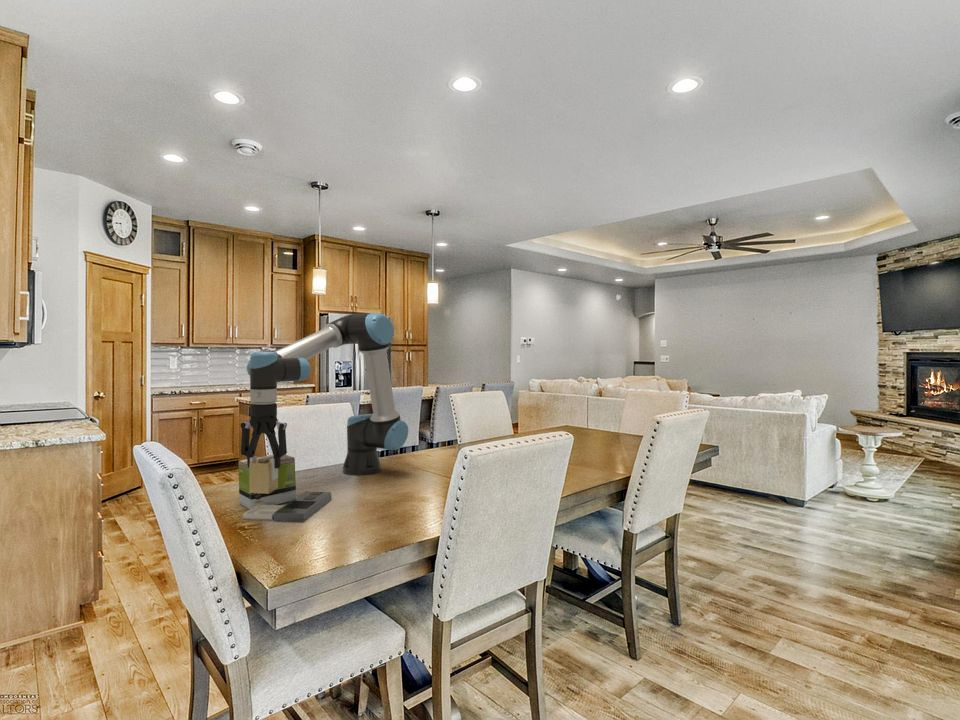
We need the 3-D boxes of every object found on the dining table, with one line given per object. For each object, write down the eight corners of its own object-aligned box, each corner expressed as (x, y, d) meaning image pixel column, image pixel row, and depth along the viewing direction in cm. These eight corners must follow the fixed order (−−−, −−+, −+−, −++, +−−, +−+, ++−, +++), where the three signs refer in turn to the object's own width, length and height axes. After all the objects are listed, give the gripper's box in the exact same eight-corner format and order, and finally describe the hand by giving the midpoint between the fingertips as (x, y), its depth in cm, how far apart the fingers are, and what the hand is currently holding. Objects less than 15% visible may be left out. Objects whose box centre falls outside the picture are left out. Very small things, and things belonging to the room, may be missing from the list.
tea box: (283, 494, 180) (283, 452, 180) (296, 501, 173) (296, 457, 172) (238, 504, 170) (237, 459, 169) (250, 511, 162) (249, 464, 162)
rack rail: (305, 498, 175) (305, 491, 175) (331, 499, 175) (331, 491, 175) (274, 521, 154) (274, 512, 153) (303, 522, 153) (303, 513, 153)
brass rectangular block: (259, 487, 162) (259, 456, 162) (278, 488, 161) (278, 457, 161) (249, 493, 156) (249, 461, 156) (268, 493, 155) (268, 461, 155)
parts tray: (258, 509, 164) (258, 504, 164) (285, 510, 163) (285, 505, 163) (242, 519, 155) (242, 514, 155) (271, 520, 154) (271, 515, 154)
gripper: (226, 403, 155) (227, 480, 156) (288, 404, 153) (288, 482, 154) (240, 400, 162) (240, 474, 163) (299, 402, 161) (299, 476, 161)
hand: (264, 478), depth 158 cm, fingers closed on brass rectangular block, 6 cm apart
